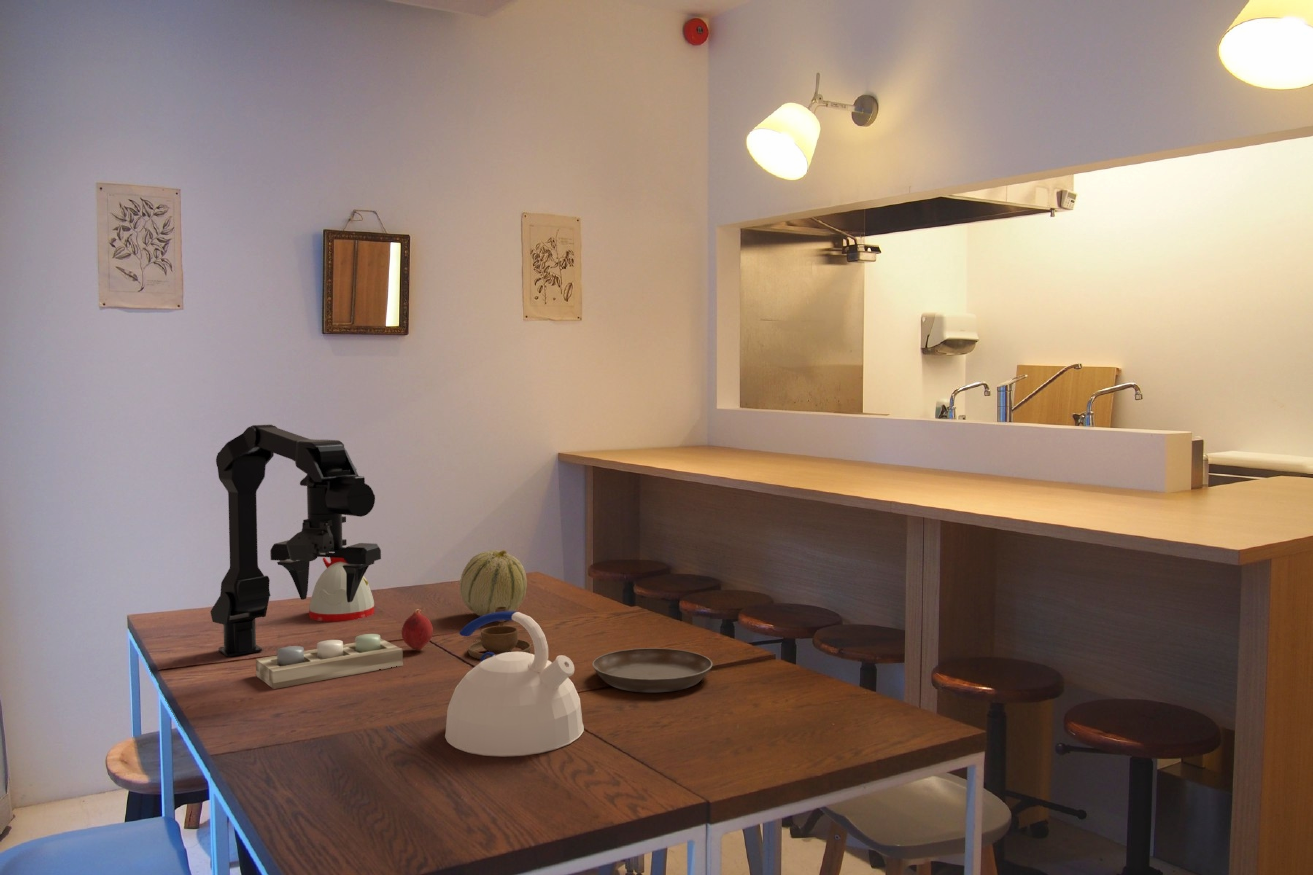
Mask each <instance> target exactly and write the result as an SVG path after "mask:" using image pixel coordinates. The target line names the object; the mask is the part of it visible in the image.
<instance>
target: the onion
mask: <svg viewBox="0 0 1313 875" xmlns="http://www.w3.org/2000/svg"><path fill="white" fill-rule="evenodd" d="M433 633H434V629H433V624H432V622H431V621H430V620H429V618H428V617H427V616H425V615H424V614H422V610H421V609H419V608H417V609H415V610H414V612H413V613H412V614H411V615H410V616H409V617H407V619H406V620H405V621H404V623H403V625H402V627H401V637H402V639H403V641H404V643H405V644H407V646H408V647H410V648H411V649H413V650H415V651H416V652H419V651H421V650H422V649H423V648H424V647H425V646H427V644H429V642H430V641H431V640H432V638H433Z"/></svg>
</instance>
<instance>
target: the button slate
mask: <svg viewBox="0 0 1313 875" xmlns="http://www.w3.org/2000/svg"><path fill="white" fill-rule="evenodd" d="M304 651H305V649H304V647H303V646H299V645H294V646H293V645H291V646H289V645H288V646H284V647H280V648H278V649H277V650H276V656H277V665H279V666H287V665H293V664H299V663H304Z"/></svg>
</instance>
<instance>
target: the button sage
mask: <svg viewBox="0 0 1313 875" xmlns="http://www.w3.org/2000/svg"><path fill="white" fill-rule="evenodd" d="M354 639H355V640H354V641H355V642H354V643H355V648H356V652H358V653H363V652H369V651H375V650H380V649H381V648H380V639H381V635H380V634H377V633H364V634H360V635H357V636H355V638H354Z"/></svg>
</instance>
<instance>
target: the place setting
mask: <svg viewBox="0 0 1313 875" xmlns="http://www.w3.org/2000/svg"><path fill="white" fill-rule="evenodd" d="M503 611H507V607H496V608H495V612H503ZM506 621H507V620H499V621H498V622H499V625H493V626H489V627H484V628H482V629H481V630H480V640H479V639H475V640H473V643H471V644H469V645H468V647H467V652H468V654H469V656H470V657H472V658H473V659H476V658H477V660H481V657H482V655H483V654H484V653H482V652H476V651H475V650H477V651H478V650H481V649H485V650H486V651H487V652H492V653H494V654H495V656H496V655H499V654H502V653H506V652H511V650H513V649H514V648H521V649H522V650H519V651H518V652H526V653H530V652H531V649H532V644H531V642H529V641H527V640H524V639H519V636H518V635H519V629H518V628H517V627H515V626H510V625H504V622H506ZM515 646H516V647H515ZM523 648H524V649H523ZM490 657H491V656H490V655H486V657H485V660H486V659H488V658H490Z"/></svg>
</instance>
